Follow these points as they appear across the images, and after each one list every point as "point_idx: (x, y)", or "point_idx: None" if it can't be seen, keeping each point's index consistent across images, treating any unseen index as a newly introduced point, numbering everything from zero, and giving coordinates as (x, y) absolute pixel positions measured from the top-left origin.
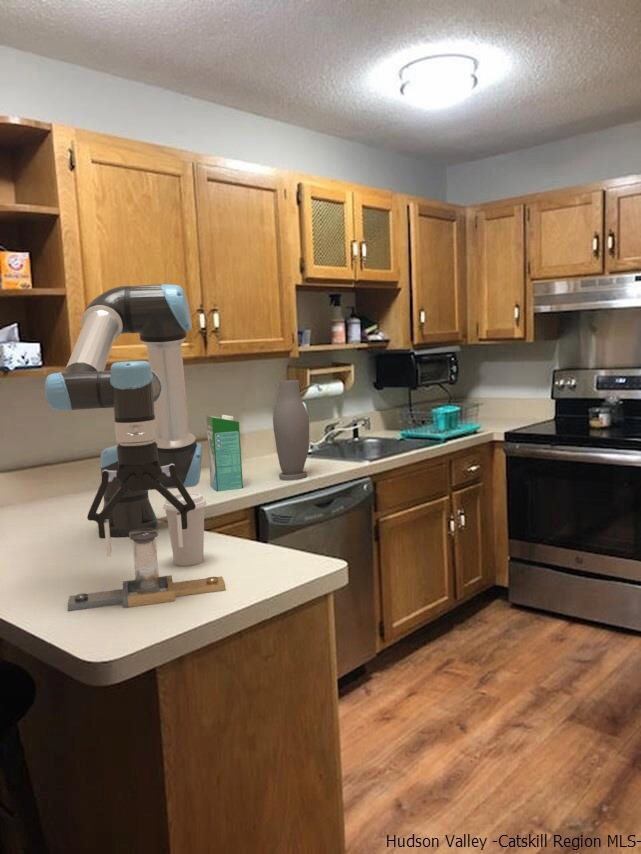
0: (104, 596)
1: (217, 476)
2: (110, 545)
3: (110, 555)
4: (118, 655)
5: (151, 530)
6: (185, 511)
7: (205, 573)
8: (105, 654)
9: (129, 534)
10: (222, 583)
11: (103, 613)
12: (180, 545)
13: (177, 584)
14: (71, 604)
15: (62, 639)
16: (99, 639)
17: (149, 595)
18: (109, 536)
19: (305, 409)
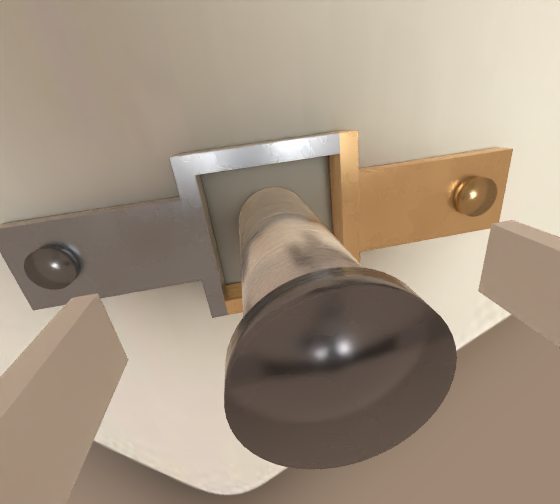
0: (137, 260)
1: None
2: (94, 377)
3: (124, 361)
4: (255, 482)
5: (408, 377)
6: None
7: (471, 17)
8: (232, 480)
9: (234, 427)
10: (493, 219)
11: (168, 326)
12: (492, 294)
13: (368, 196)
14: (45, 306)
15: (122, 437)
16: (204, 439)
17: None
18: (69, 473)
19: None
